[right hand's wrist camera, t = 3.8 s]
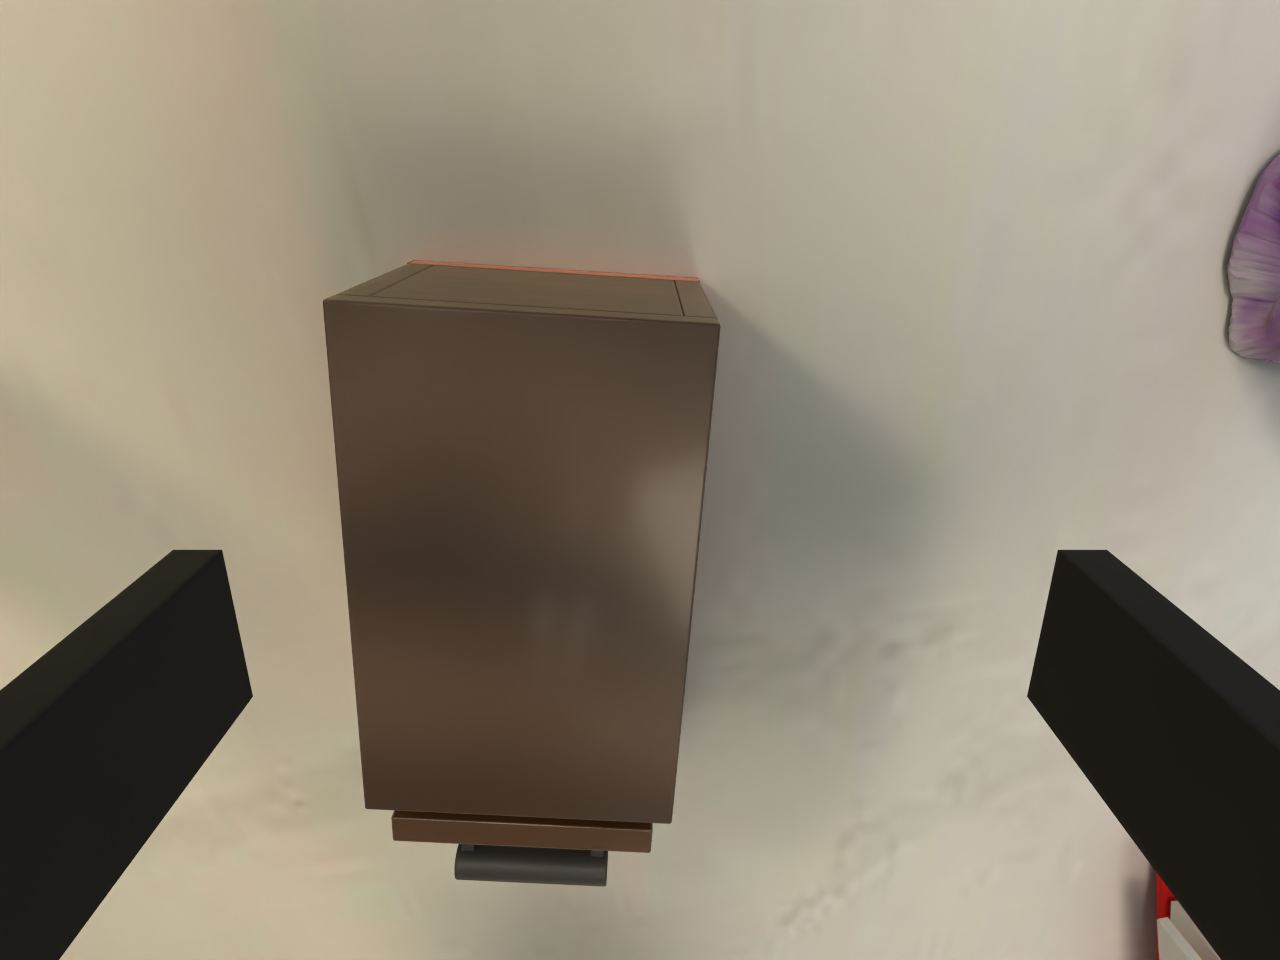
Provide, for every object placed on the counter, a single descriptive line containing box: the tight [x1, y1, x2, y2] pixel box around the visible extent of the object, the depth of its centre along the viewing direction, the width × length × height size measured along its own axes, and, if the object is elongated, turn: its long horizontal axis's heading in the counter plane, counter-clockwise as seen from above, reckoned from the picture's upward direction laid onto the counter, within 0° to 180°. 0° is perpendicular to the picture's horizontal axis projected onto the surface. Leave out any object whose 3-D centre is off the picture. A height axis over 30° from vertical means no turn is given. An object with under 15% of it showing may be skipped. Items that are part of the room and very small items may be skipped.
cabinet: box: [323, 260, 720, 824], centre depth 30 cm, size 18×11×10 cm, turn 176°
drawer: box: [392, 810, 653, 886], centre depth 33 cm, size 23×10×8 cm, turn 176°
